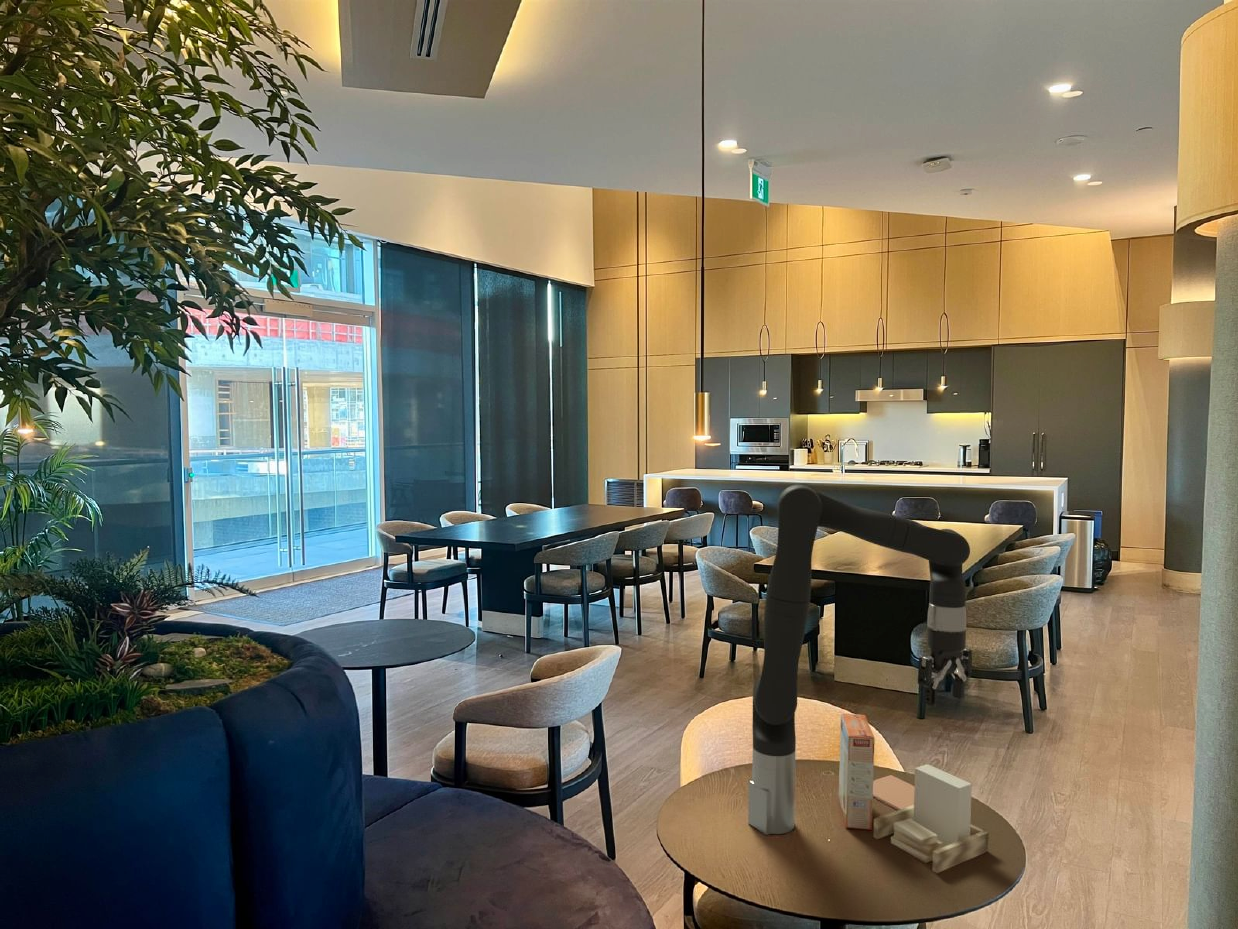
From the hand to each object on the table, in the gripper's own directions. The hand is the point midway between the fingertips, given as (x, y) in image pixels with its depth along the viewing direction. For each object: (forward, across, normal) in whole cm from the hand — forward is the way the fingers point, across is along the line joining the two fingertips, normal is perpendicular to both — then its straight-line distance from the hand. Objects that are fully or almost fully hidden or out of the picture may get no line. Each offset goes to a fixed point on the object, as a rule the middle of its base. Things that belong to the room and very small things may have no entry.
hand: (944, 701), depth 171 cm
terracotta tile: (+30, -8, -18) cm, 36 cm away
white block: (+30, 0, 0) cm, 30 cm away
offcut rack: (+30, +4, 0) cm, 30 cm away
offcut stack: (+30, +8, 0) cm, 31 cm away
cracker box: (+30, +8, -17) cm, 35 cm away
